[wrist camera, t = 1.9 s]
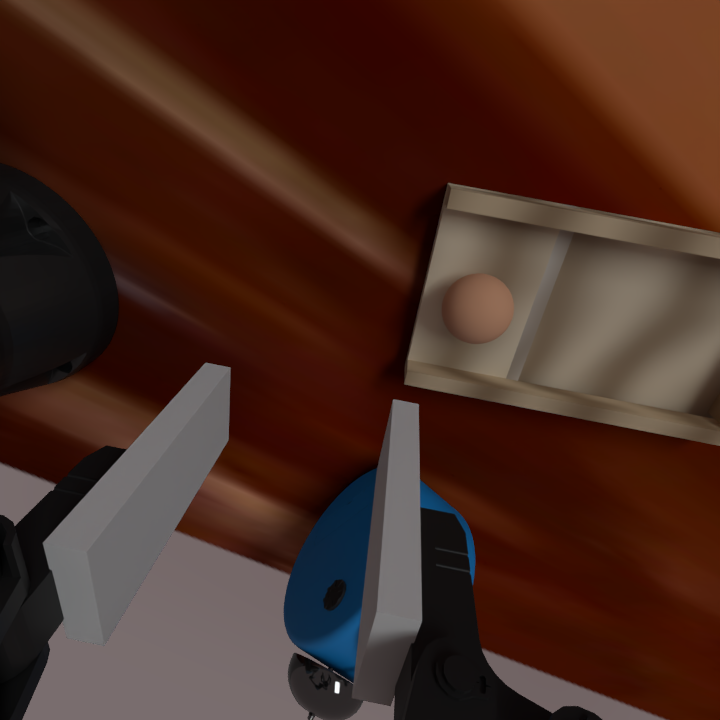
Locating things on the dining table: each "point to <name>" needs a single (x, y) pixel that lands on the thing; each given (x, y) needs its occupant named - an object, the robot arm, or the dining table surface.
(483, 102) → the dining table surface
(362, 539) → the alarm clock
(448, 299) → the ball
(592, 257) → the lane
